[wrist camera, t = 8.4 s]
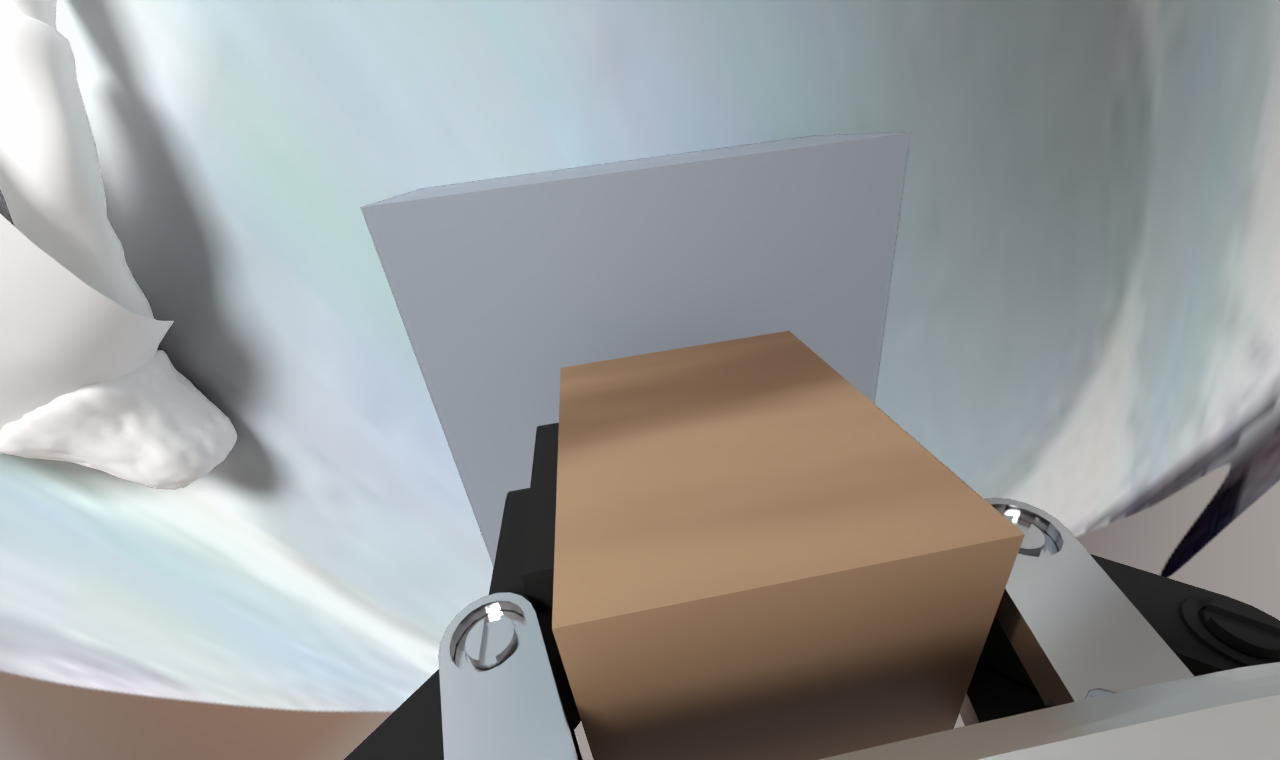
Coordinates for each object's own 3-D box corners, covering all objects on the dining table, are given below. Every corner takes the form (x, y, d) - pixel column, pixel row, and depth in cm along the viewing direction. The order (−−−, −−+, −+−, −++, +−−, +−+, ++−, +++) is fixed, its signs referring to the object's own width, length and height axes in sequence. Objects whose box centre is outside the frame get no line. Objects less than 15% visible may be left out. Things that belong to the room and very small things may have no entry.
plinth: (425, 187, 14) (360, 207, 10) (809, 135, 15) (910, 132, 10) (518, 494, 20) (504, 595, 15) (795, 444, 20) (857, 527, 16)
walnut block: (560, 368, 10) (551, 629, 5) (788, 330, 10) (1024, 534, 5) (597, 538, 12) (620, 842, 7) (782, 503, 13) (938, 767, 7)
